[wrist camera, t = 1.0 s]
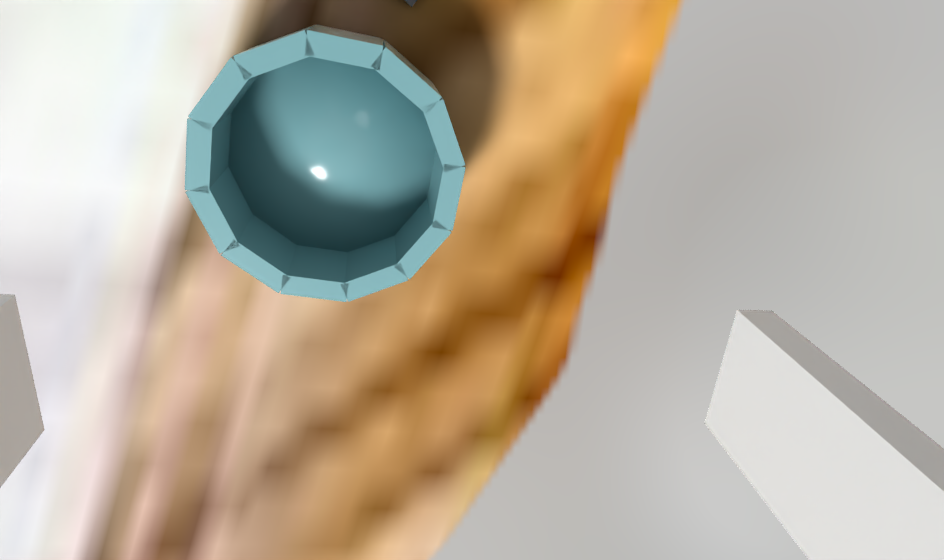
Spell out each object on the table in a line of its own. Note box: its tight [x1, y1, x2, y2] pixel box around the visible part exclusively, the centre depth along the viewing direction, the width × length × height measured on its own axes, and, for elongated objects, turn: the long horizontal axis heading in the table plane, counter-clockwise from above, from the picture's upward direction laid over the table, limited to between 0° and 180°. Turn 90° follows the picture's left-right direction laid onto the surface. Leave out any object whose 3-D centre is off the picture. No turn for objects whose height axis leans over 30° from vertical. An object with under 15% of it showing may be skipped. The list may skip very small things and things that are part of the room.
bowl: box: [185, 24, 466, 302], centre depth 31 cm, size 12×12×5 cm
